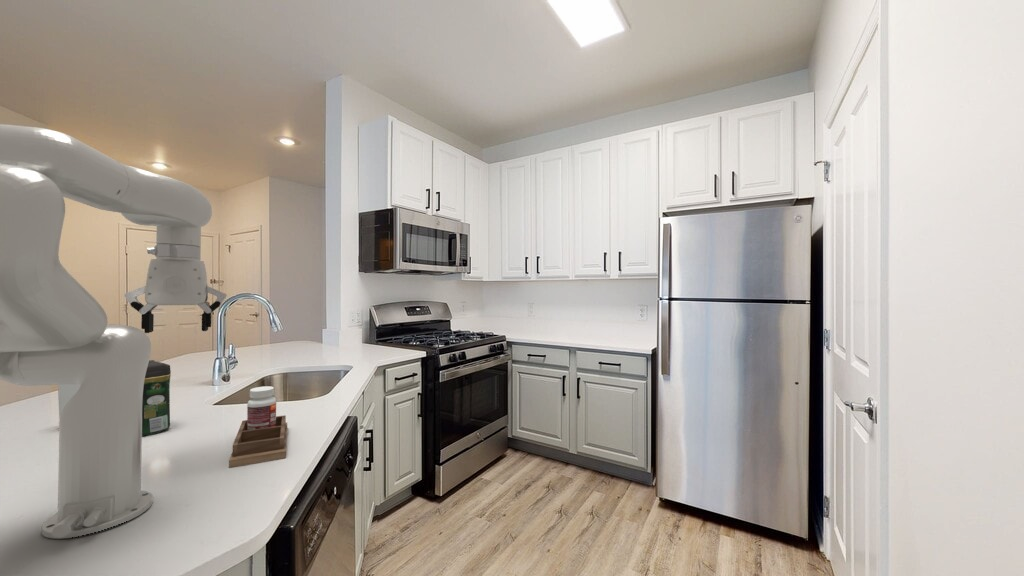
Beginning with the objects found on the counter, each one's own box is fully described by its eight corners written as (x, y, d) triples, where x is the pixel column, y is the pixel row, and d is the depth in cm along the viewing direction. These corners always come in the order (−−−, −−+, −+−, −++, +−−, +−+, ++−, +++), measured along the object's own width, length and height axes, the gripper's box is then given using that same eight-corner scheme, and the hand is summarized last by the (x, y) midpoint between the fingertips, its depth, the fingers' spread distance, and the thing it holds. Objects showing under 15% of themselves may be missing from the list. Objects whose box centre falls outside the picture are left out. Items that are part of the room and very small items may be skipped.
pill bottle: (276, 435, 98) (277, 389, 98) (246, 440, 95) (247, 392, 95) (275, 427, 103) (275, 384, 103) (247, 432, 100) (247, 387, 100)
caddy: (285, 458, 88) (285, 440, 88) (228, 467, 83) (229, 448, 83) (287, 427, 107) (287, 413, 107) (241, 434, 102) (241, 418, 102)
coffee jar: (121, 432, 103) (122, 361, 103) (160, 423, 110) (161, 357, 110) (134, 439, 98) (136, 365, 98) (174, 430, 105) (175, 360, 105)
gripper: (119, 250, 80) (117, 335, 79) (224, 255, 88) (223, 331, 88) (132, 253, 86) (131, 331, 86) (229, 257, 95) (228, 328, 94)
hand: (177, 331), depth 87 cm, fingers open, 9 cm apart
